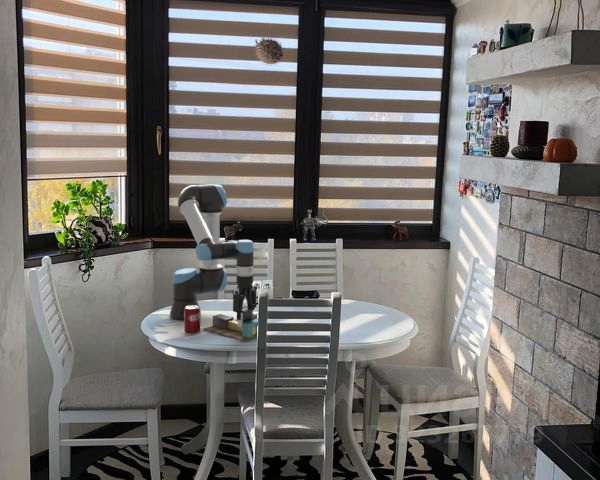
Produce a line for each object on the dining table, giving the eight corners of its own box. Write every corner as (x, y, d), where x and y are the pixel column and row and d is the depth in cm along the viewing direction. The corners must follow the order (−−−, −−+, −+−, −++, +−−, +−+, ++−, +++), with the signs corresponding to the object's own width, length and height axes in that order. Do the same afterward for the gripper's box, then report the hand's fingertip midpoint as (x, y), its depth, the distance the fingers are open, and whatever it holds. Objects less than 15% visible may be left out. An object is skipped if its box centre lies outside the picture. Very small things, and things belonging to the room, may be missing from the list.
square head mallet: (222, 327, 344) (222, 305, 342) (230, 325, 347) (230, 303, 346) (250, 335, 332) (250, 312, 330) (258, 332, 336) (258, 310, 334)
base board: (203, 330, 346) (203, 328, 346) (226, 324, 356) (226, 322, 356) (244, 341, 328) (244, 339, 328) (266, 335, 339) (266, 332, 338)
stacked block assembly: (208, 327, 347) (208, 313, 345) (224, 323, 354) (224, 309, 353) (248, 338, 330) (247, 324, 329) (263, 333, 337) (263, 319, 336)
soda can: (181, 332, 342) (180, 307, 340) (193, 329, 347) (192, 304, 345) (191, 335, 337) (191, 309, 335) (203, 332, 342) (203, 306, 341)
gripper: (236, 279, 324) (236, 331, 328) (265, 273, 338) (264, 322, 342) (224, 276, 329) (224, 327, 333) (253, 270, 342) (253, 319, 346)
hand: (244, 325), depth 337 cm, fingers closed on square head mallet, 5 cm apart
